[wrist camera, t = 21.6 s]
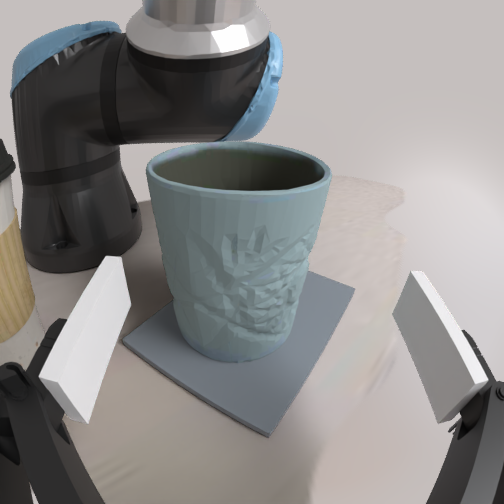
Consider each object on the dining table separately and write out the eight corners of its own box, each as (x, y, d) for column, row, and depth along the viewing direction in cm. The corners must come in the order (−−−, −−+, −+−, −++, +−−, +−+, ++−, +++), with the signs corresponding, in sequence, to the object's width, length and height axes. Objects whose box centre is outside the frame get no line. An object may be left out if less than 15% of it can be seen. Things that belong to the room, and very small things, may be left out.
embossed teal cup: (322, 352, 20) (369, 188, 14) (176, 387, 17) (148, 201, 11) (269, 270, 28) (283, 139, 22) (157, 287, 25) (144, 144, 19)
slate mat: (124, 344, 20) (122, 339, 20) (243, 250, 32) (243, 245, 32) (268, 437, 15) (269, 433, 15) (353, 293, 27) (355, 288, 27)
